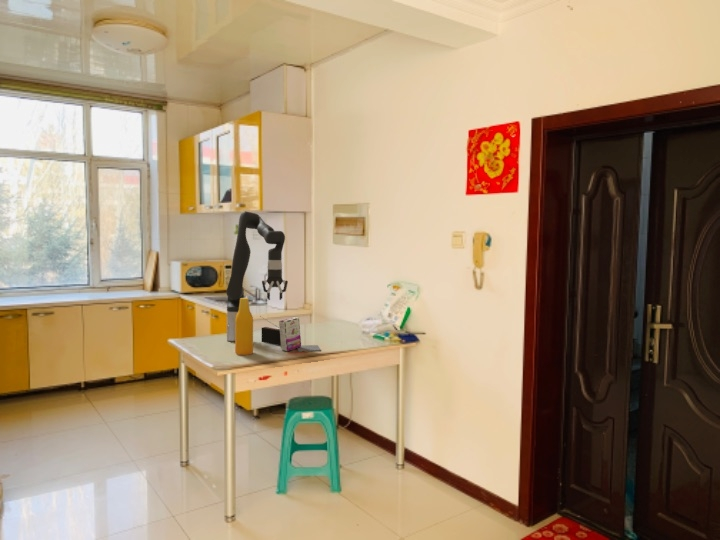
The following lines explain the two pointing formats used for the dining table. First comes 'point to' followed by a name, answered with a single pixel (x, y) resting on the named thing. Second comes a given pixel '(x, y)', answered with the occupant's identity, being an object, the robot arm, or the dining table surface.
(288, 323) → the candy bar box
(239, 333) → the beer bottle
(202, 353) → the dining table surface
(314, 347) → the mat
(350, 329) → the dining table surface
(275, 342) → the radio
